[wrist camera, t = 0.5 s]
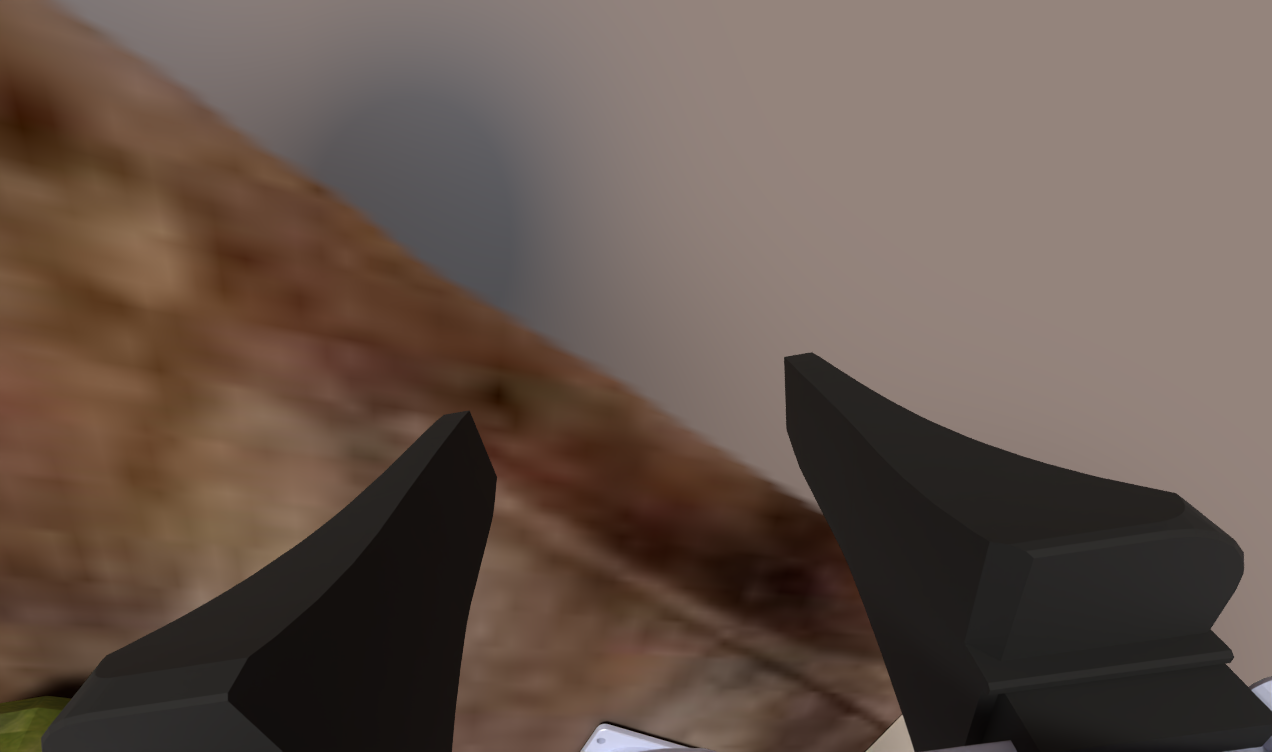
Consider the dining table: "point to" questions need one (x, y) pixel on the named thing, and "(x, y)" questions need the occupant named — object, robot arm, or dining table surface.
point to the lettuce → (27, 722)
